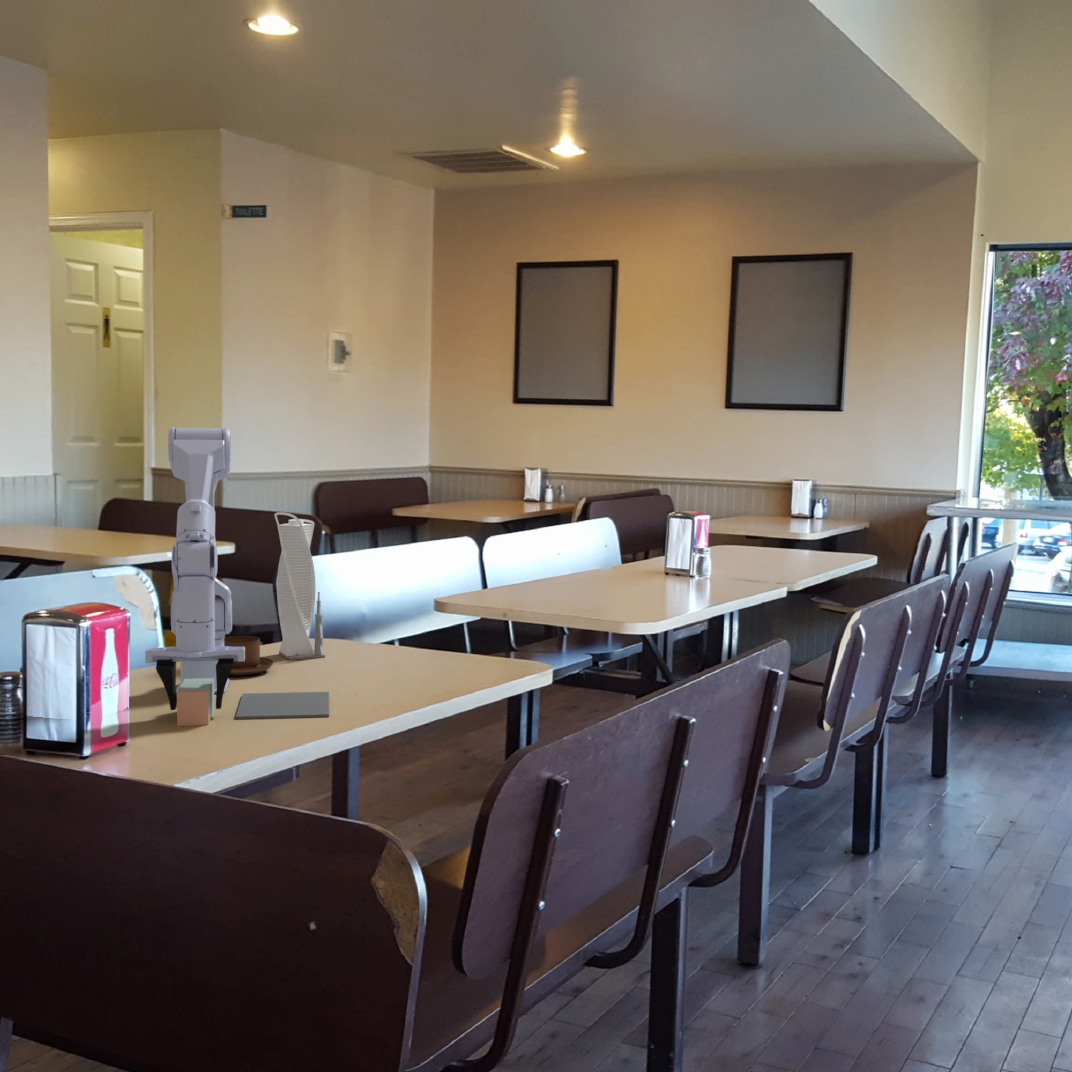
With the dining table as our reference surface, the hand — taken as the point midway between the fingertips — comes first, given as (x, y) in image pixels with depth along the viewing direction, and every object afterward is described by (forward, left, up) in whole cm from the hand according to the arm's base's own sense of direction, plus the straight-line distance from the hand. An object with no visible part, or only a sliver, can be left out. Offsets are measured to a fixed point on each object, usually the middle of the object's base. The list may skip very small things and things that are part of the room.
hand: (196, 708), depth 187 cm
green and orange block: (0, 0, -2) cm, 2 cm away
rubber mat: (-6, +13, -1) cm, 14 cm away
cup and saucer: (-34, +4, -2) cm, 34 cm away
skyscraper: (-49, +14, -2) cm, 51 cm away
